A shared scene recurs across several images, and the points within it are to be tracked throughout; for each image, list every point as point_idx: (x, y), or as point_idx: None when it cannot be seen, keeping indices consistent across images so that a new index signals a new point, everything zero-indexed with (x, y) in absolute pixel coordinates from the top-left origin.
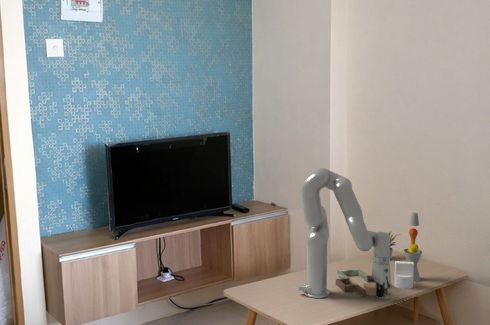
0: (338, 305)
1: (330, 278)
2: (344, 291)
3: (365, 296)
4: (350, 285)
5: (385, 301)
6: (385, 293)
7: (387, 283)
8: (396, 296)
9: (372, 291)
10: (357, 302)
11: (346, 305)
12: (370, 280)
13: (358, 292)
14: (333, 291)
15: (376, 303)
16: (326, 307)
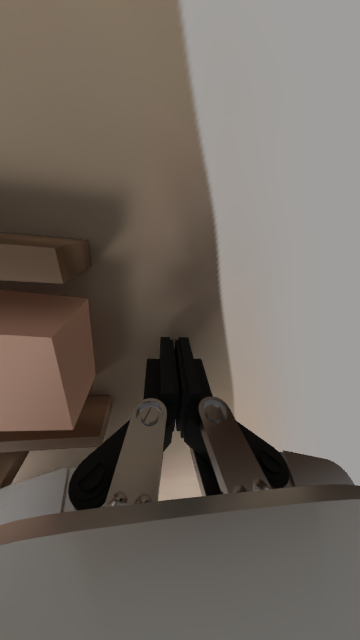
0: (172, 480)
1: None
2: (25, 453)
3: (110, 397)
4: None
5: (222, 332)
6: (87, 258)
7: (316, 494)
8: (171, 172)
9: (82, 378)
10: (172, 439)
11: (183, 467)
12: None
13: None
14: (19, 474)
15: (220, 385)
16: (173, 497)
